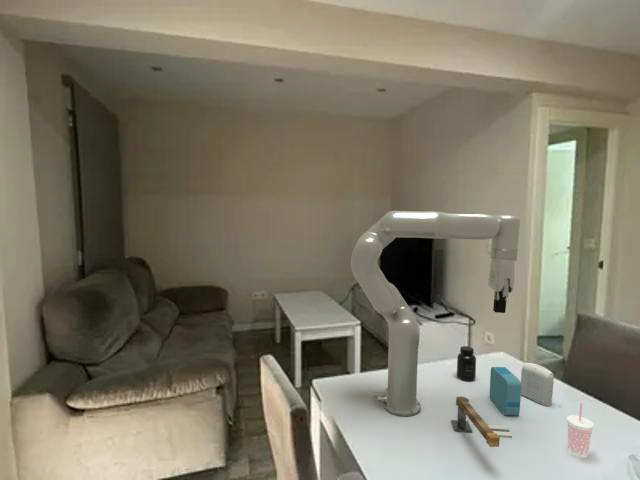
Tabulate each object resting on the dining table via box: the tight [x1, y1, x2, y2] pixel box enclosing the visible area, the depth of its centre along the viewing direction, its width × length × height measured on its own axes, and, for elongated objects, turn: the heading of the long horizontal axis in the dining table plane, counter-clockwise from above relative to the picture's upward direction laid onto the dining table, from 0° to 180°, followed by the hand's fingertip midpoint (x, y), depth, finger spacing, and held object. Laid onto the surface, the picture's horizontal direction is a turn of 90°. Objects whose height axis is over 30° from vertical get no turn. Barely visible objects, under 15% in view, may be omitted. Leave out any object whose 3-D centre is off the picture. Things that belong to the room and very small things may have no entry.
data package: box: [489, 366, 522, 416], centre depth 128 cm, size 12×4×12 cm, turn 0°
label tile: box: [487, 424, 513, 439], centre depth 115 cm, size 7×5×1 cm
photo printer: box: [520, 362, 555, 407], centre depth 134 cm, size 10×4×12 cm, turn 31°
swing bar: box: [455, 396, 501, 448], centre depth 108 cm, size 21×4×2 cm, turn 3°
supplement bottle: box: [456, 345, 477, 382], centre depth 150 cm, size 7×7×12 cm
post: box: [450, 406, 473, 434], centre depth 117 cm, size 5×5×7 cm
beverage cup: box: [566, 403, 595, 459], centre depth 105 cm, size 6×6×14 cm
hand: (499, 311), depth 122 cm, fingers closed
